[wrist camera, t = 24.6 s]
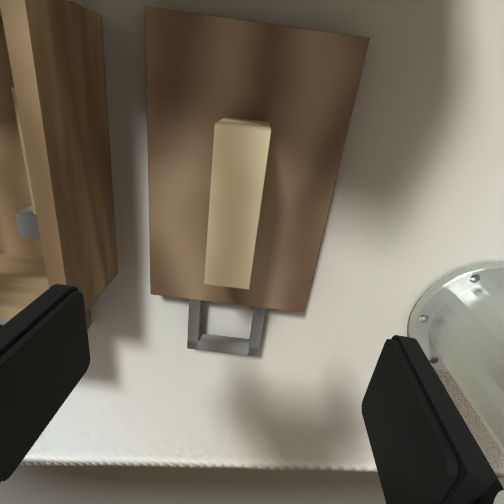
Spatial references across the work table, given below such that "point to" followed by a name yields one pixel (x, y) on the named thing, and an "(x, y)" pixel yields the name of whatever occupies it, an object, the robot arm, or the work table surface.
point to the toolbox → (53, 154)
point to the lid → (242, 160)
